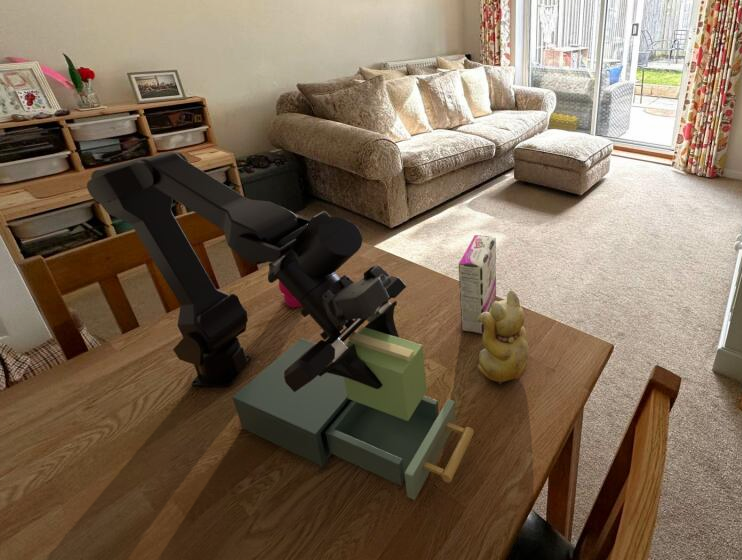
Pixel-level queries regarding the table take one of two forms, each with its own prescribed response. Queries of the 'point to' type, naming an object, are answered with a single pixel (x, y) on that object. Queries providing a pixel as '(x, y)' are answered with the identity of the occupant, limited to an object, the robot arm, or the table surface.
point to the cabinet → (292, 407)
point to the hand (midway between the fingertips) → (392, 372)
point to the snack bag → (389, 373)
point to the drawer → (399, 442)
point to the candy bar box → (477, 281)
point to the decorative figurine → (504, 340)
